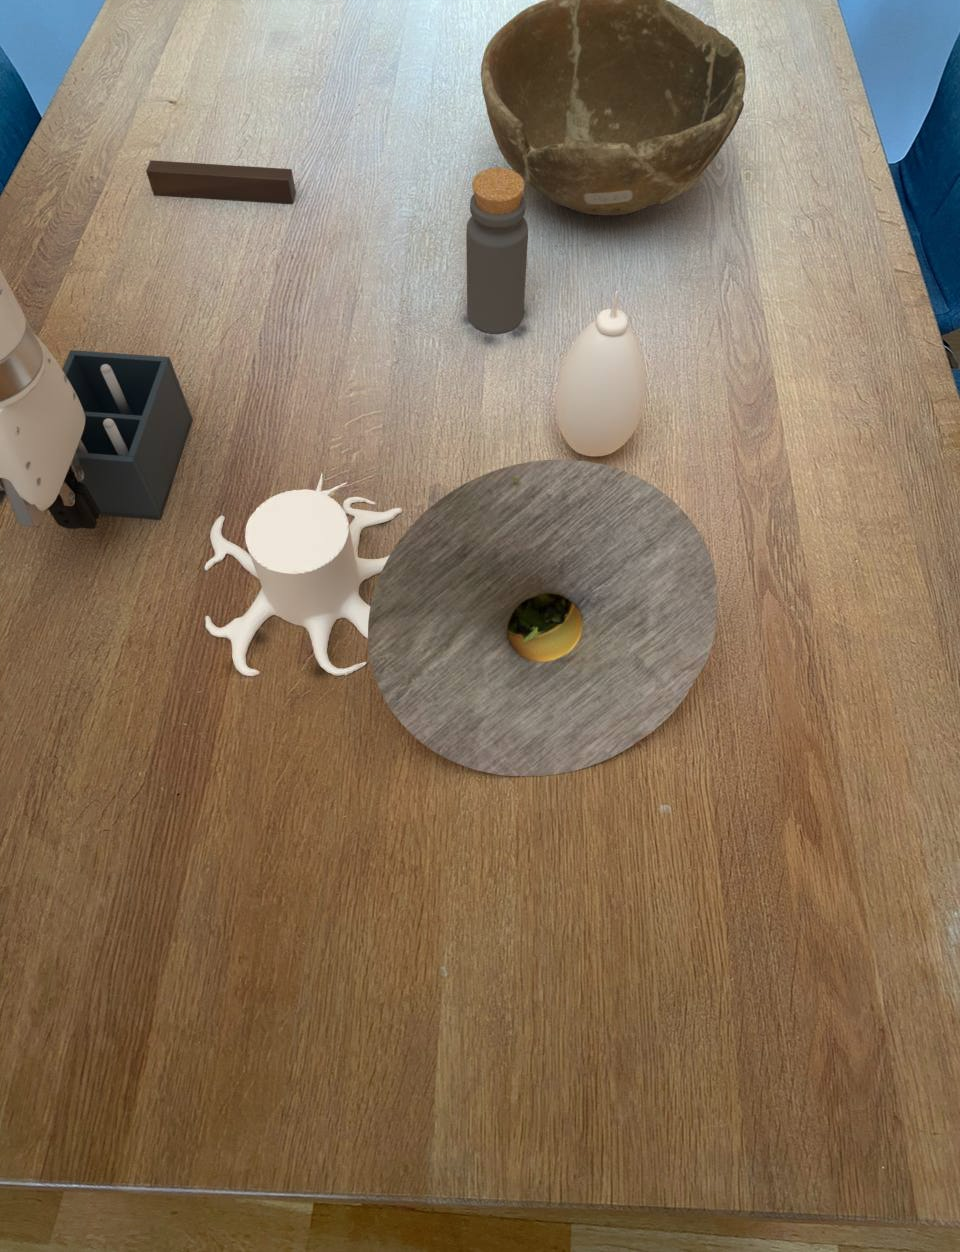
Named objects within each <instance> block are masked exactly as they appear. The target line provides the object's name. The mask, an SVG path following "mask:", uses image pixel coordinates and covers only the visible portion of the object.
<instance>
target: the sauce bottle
mask: <svg viewBox="0 0 960 1252" xmlns="http://www.w3.org/2000/svg"><path fill="white" fill-rule="evenodd" d="M618 306H619V291H618V290H616V291H615V293H614V295H613V299H612V303H611V308H606V309H603V310H601V311H599V312H598V314H597V316H596V317H595V320H593V321H592V322H590V324H588V325H587V326H585V328H584V329H583V330H582V331H581V332H580V333H579V334H578V336H577V337H576V338H575V340H574V341H573V343H572V344H571V346H570V348H569V349H568V351H567V354H566V356H565V358H564V360H563V362H562V365H561V367H560V370H559V374H558V377H557V383H556V387H555V394H554V395H555V396H554V397H555V398H554V405H555V408H554V409H555V418H556V420H557V421H556V422H557V425H558V428H559V431H560V433H561V435H562V437H563V439H564V440H565V442H566V443H567V444H568V446H569V447H570V448H571V449H572V450H573V451H574V452H576V453H578V454H580V455H582V456H587V457H604V456H607V455H610V454H612V453H614V452H616V451H618V450H619V449H620V448H621V447H623V446H624V445H625V444H626V443H627V442H628V441H629V440H630V438H631V437H632V435H634V432H635V431H636V429H637V427H638V425H639V423H640V420H641V418H642V415H643V411H644V407H645V400H646V395H647V394H646V393H647V378H646V377H647V375H646V366H645V361H644V356H643V352H642V349H641V346H640V343H639V341H638V338H637V336H636V334H635V332H634V331H633V329H632V327H631V326H630V325H629V318H628V316H627V314H626V313H625V312H624V311H622V310H620V309H618Z"/></svg>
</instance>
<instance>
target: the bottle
mask: <svg viewBox="0 0 960 1252" xmlns="http://www.w3.org/2000/svg"><path fill="white" fill-rule="evenodd" d="M471 186H472V191H473V194H472V195H471V197H470V200H469V201H470V202H469V212H470V214H471V216H470V217H469V218H468V220H467V222H466V231H465V232H466V234H465V235H466V237H465V238H466V239H465V240H466V242H465V243H466V307H467V308H466V309H467V310H466V312H467V319H468V321H469V323H470V324H471V325H472V326H473V327H474V328H476V329H477V330H479V331H481V332H484V333H488V334H496V335H497V334H504V333H508V332H510V331H512V330H515V328H517V327H518V326H519V325H520V324H521V322H522V320H523V317H524V313H525V311H524V309H525V297H526V279H527V277H526V276H527V263H528V262H527V261H528V258H527V257H528V244H529V243H528V240H529V226H528V221H527V220H526V218H525V217H524V216H525V213H526V209H527V207H526V205H527V204H526V202H527V201H526V198H525V196H524V190H525V186H526V185H525V180H524V179H523V178H522V177H521V176H520V175H519V174H518V173H516V172H515V171H514V170H513V169H509V168H505V167H492V168H490V167H489V168H487V169H484V170H482V171H480V172H479V173H477V174H476V175H475V176H474V178H473V179H472V185H471Z"/></svg>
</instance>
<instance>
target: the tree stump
mask: <svg viewBox="0 0 960 1252" xmlns="http://www.w3.org/2000/svg"><path fill="white" fill-rule="evenodd" d="M323 474H324V473H323V472H321V474H320V478H319V481H318V484H317V486H316V489H307V488H306V489H298V490H297V489H292V490H287V491H284V492H280V493H277V494H275V495H273V496H271V497H269V498H267V499H266V500H265V501H264V502H262V503H260V505H259V506H257V507H256V508H255V510H254V511H253V513H252V514H251V515H250V516H249V518H248V520H247V523H246V526H245V532H244V533H245V534H244V540H245V544H246V548H247V550H248V552H247V551H246V550H245V549H243V548H242V547H240V546H239V545H237V544H235V543H233V542H232V541H229V540H227V539H226V538H225V537H224V536H223V534H222V530H223V527H224V522H225V519H226V517H225V515H222V514H221V515H220V516H219V517H218V518H216V520H215V521H214V523H213V525H212V527H211V529H210V534H209V537H210V543H211V546H212V549H213V551H214V556H213V557H211V558H210V559H209V560H208V561H206V562H205V565H204V571H205V572H207V571H209V570H210V569H211V568H212V567H213V566H214V565H215V564H217V563H220V562H222V561H223V560H224V559H225V557H226V555H231V556H232V557H233V558H234V559H235V560H236V561H238V562H239V564H240V565H241V566H242V567H243V569H245V570H246V571H247V572H249V573H250V574H251V576H253V577H255V578H256V579H258V581H259V583H260V587H261V588H260V590H259V593H258V594H257V595H256V597H255V599H254V600H253V602H252V604H251V605H250V607H249V608H248V609H247V611H246V612H245V613H244V614H243V615H242V616H239V617H235V618H234V619H232V620H231V621H230V622H229V623H228V624H226V625H223V626H222V627H218V626H216V625H215V623H213V620H212V618H211V617H210V616H209V615H205V617H204V620H205V621H204V622H205V628H206V630H207V631H208V632H209V633H210V634H211V636H214V637H216V638H219V639H221V638H224V639H225V638H226V639H228V640H229V641H230V643H231V654H232V655H231V659H232V660H233V661H232V662H233V664H234V667H235V670H236V671H238V673H240V674H241V675H243V676H246V677H254V676H259V675H260V673H261V672H260V671H259V670H258V669H255V668H251V667H249V666H248V665H247V664H248V663H247V656H246V655H247V652H248V650H249V647H250V644H251V643H252V640H253V638H254V637H255V635H256V632H257V631H258V630H259V629H260V628H261V626H262V625H263V624H264V623H265V622H266V620H268V619H269V618H270V617H273V616H275V617H278V618H280V619H282V620H283V621H285V622H288V623H290V624H292V625H294V626H300V627H303V628H304V629H305V630H306V631H307V632H308V634H309V638H310V641H311V647H312V650H313V655H314V657H315V660H316V661H317V663H318V665H319V666H320V667H321V668H322V669H323V670H324V671H325V672H327V673H328V674H331V675H333V676H348V675H349V674H353V673H354V672H356V671H358V670H359V669H361V668H363V667H364V666H365V665H367V664H368V662H367V661H363V662H359V663H355V664H354V665H352V666H349V667H346V668H341V667H337V666H335V665H334V664H333V663H332V662H331V661H330V658H329V654H328V647H329V640H330V635H331V633H332V630H333V629H332V628H333V627H334V625H335V623H336V622H337V620H339V619H346V620H347V621H349V622H350V623H351V624H353V625H354V627H355V628H356V629H357V631H359V633H360V634H361V635H362V636H363V637H364V638H366V639H367V640H368V621H369V612H370V606H371V605H370V604H368V603H367V602H365V601H364V600H363V598H362V597H361V596H360V587H361V584H362V583H363V582H364V581H365V580H367V579H370V578H371V577H373V576H376V575H379V574H381V572H382V569H383V567H384V565H385V563H386V561H387V560H388V558H389V556H390V554H389V555H387V556H384V557H381V558H363V557H359V545H360V536H361V533H362V531H363V530H364V529H365V528H367V527H372V526H376V525H380V524H382V523H387V522H388V521H391V520H394V519H395V517H397V515H399V514H401V513H402V512H403V508H402V507H394V508H391V509H389V510H386V511H373V510H367V509H366V510H365V509H359V508H353V507H352V504H353V503H363V502H365V503H367V504H368V505H372V506H374V505H376V504H377V503H376V502H375V501H373V500H370V499H368V498H365V497H361V496H352V497H347V498H346V499H345V500H344V501H343V503H342V506H341V505H340V504H339V502H338V501H336V500H335V499H334V498H333V497H331V495H332V494H333V493H336V492H337V491H338V490H339V489H341V488H343V487H344V486H345V485H347V484H348V482H347V481H346V482H343V483H341V484H339V485H336V486H333V487H332V488H330V489H325V490H322V485H323ZM347 515H349V516H350V517H354V518H353V519H352V520H351V522H350V523H349V519H348V516H347Z"/></svg>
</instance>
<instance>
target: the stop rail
mask: <svg viewBox="0 0 960 1252" xmlns="http://www.w3.org/2000/svg"><path fill="white" fill-rule="evenodd" d="M145 174H146V175H147V178H148V181H149V182H148V183H149V185H150V187H151V190H152V194H153V196H163V197H164V196H165V197H179V198H192V199H193V198H194V199H207V200H209V199H210V200H211V199H212V200H225V201H241V202H255V203H256V202H257V203H271V204H272V203H273V204H274V203H275V204H288V205H289V204H290V205H292V204H294V201H295V199H296V194H297V191H296V186H295V185H296V184H295V179H294V175H293V170H292V168H280V167H265V166H249V165H247V166H246V165H233V164H217V163H216V164H215V163H199V162H186V161H185V162H184V161H170V160H169V161H167V160H154V159H153V160H150V161H149V163H148V165H147V168H146V171H145Z"/></svg>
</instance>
